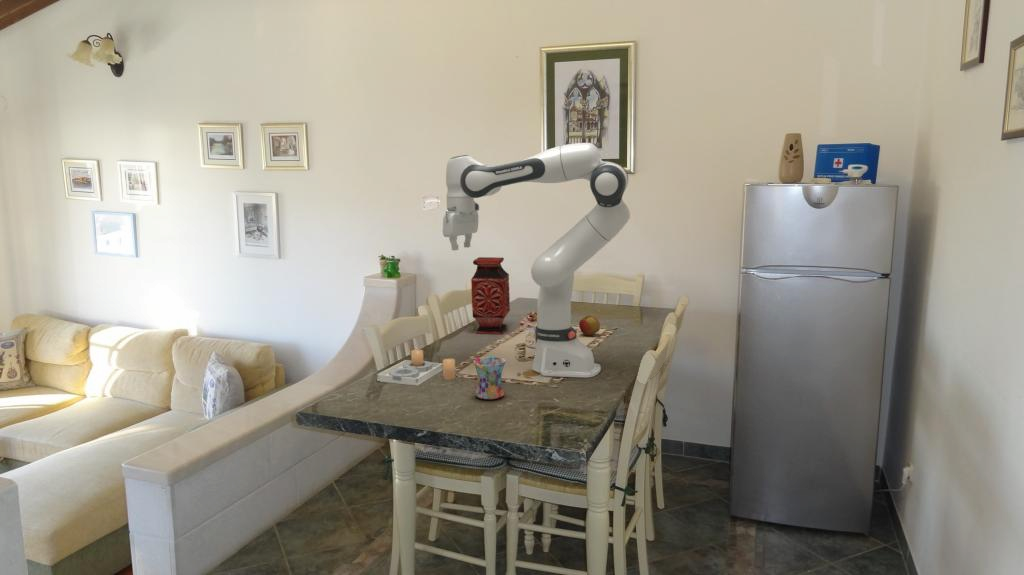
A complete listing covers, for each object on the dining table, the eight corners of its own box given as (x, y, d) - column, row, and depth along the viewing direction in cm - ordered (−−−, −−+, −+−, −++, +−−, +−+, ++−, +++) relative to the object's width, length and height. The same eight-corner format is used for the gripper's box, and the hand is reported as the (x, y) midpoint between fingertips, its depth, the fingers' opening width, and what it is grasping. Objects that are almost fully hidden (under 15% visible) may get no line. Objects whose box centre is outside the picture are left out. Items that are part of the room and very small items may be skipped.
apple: (585, 332, 275) (585, 313, 273) (602, 335, 270) (603, 315, 269) (575, 336, 268) (575, 316, 267) (593, 338, 264) (593, 318, 263)
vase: (478, 327, 286) (477, 256, 281) (510, 327, 284) (509, 256, 279) (471, 334, 272) (470, 260, 267) (505, 335, 270) (504, 261, 266)
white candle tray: (443, 370, 222) (442, 349, 221) (417, 385, 206) (416, 363, 205) (405, 366, 227) (404, 346, 226) (377, 381, 210) (376, 359, 209)
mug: (502, 402, 190) (501, 366, 188) (470, 400, 191) (469, 364, 190) (510, 389, 201) (510, 355, 200) (480, 387, 203) (479, 353, 201)
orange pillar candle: (457, 377, 214) (457, 359, 213) (452, 380, 210) (451, 362, 210) (446, 376, 215) (446, 358, 214) (441, 379, 212) (440, 361, 211)
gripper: (455, 207, 209) (456, 252, 211) (481, 205, 228) (482, 246, 230) (437, 207, 211) (438, 251, 213) (464, 205, 230) (465, 245, 232)
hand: (461, 248), depth 222 cm, fingers open, 8 cm apart
